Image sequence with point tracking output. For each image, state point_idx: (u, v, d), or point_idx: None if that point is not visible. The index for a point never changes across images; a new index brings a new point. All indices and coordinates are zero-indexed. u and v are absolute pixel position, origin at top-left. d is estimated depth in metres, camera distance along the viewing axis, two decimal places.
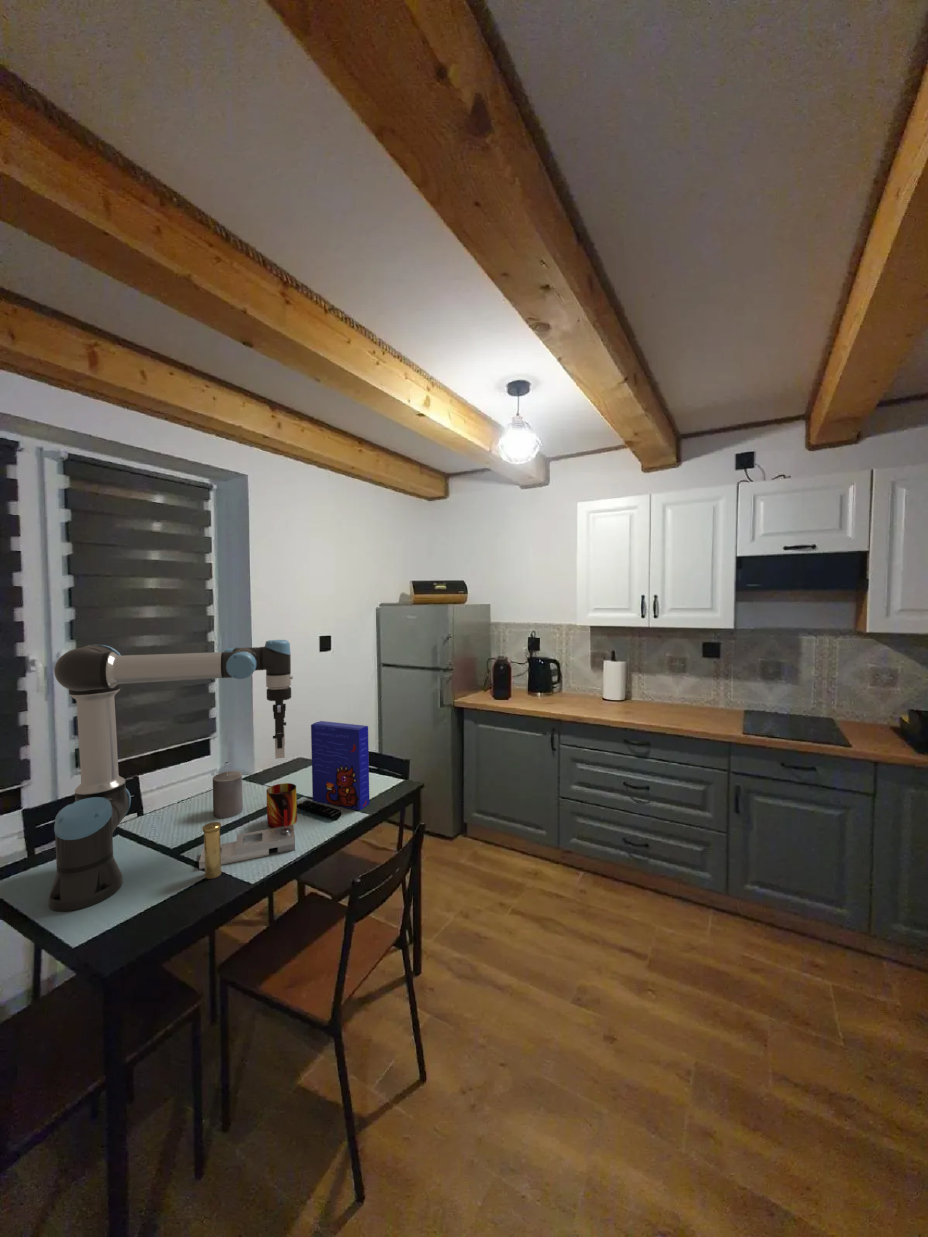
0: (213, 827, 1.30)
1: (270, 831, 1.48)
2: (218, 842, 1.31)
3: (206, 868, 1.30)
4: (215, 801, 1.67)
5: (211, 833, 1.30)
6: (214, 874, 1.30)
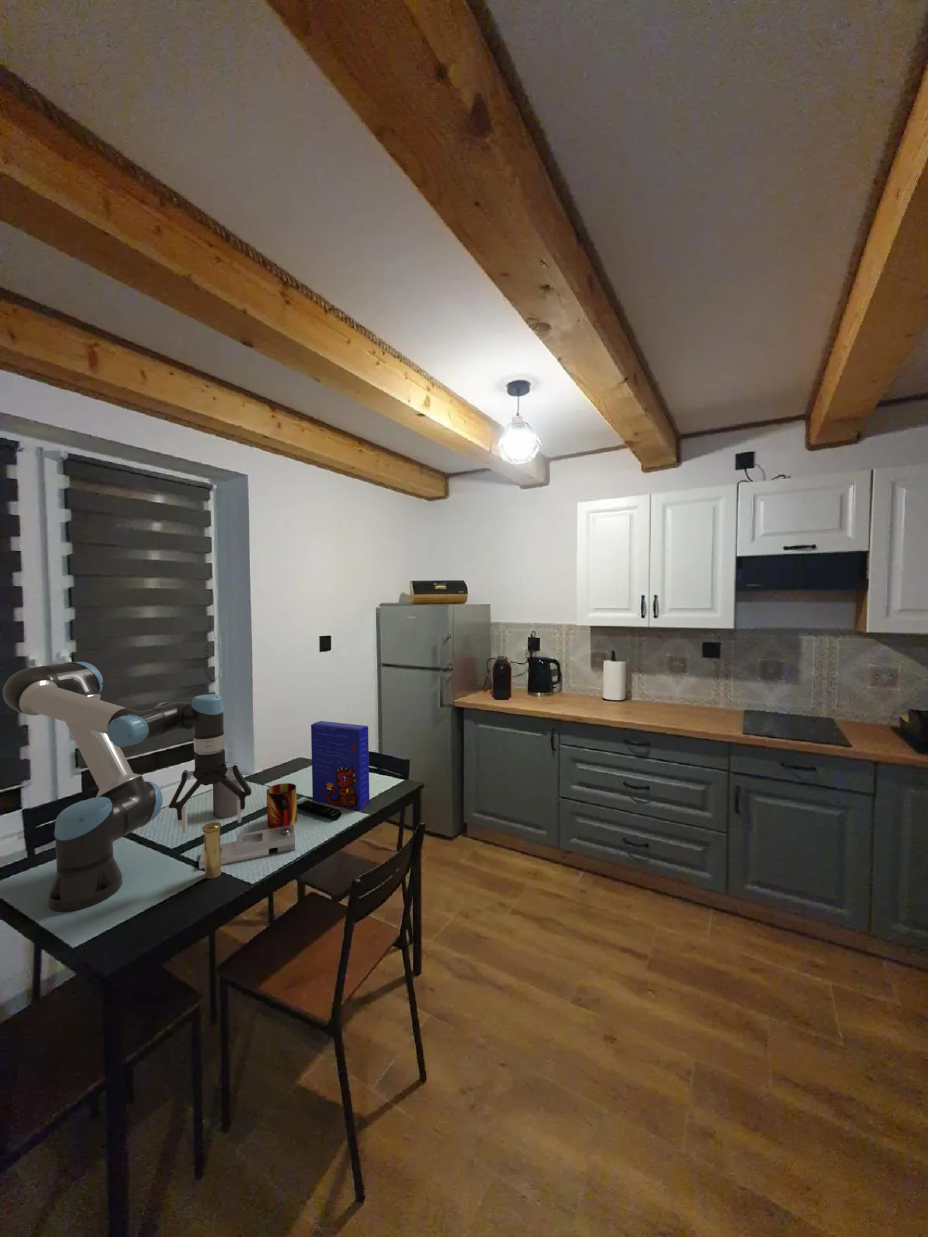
0: (213, 827, 1.30)
1: (270, 831, 1.48)
2: (218, 842, 1.31)
3: (206, 868, 1.30)
4: (215, 801, 1.67)
5: (211, 833, 1.30)
6: (214, 874, 1.30)
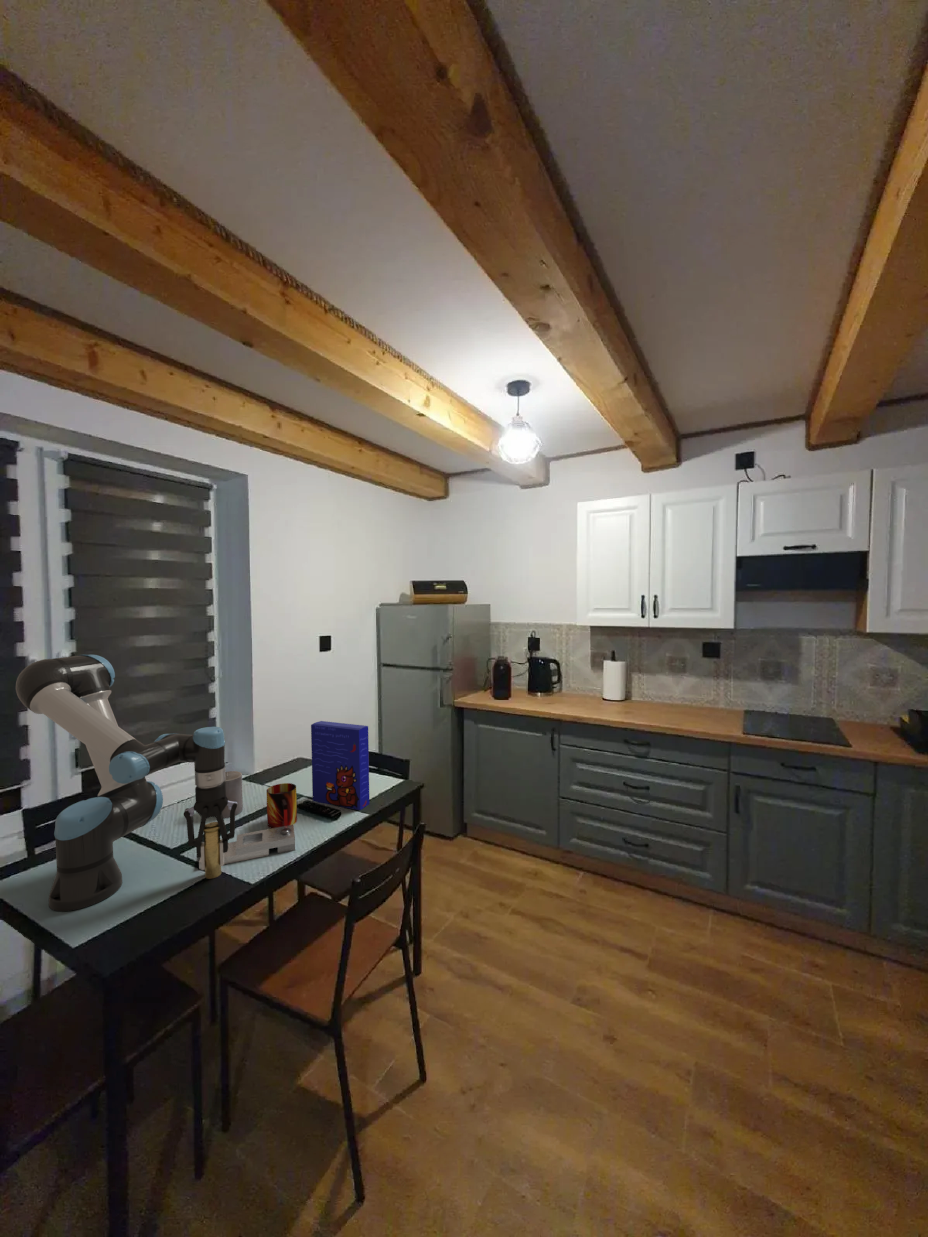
0: (213, 827, 1.30)
1: (270, 831, 1.48)
2: (218, 842, 1.31)
3: (206, 868, 1.30)
4: None
5: (211, 833, 1.30)
6: (214, 874, 1.30)
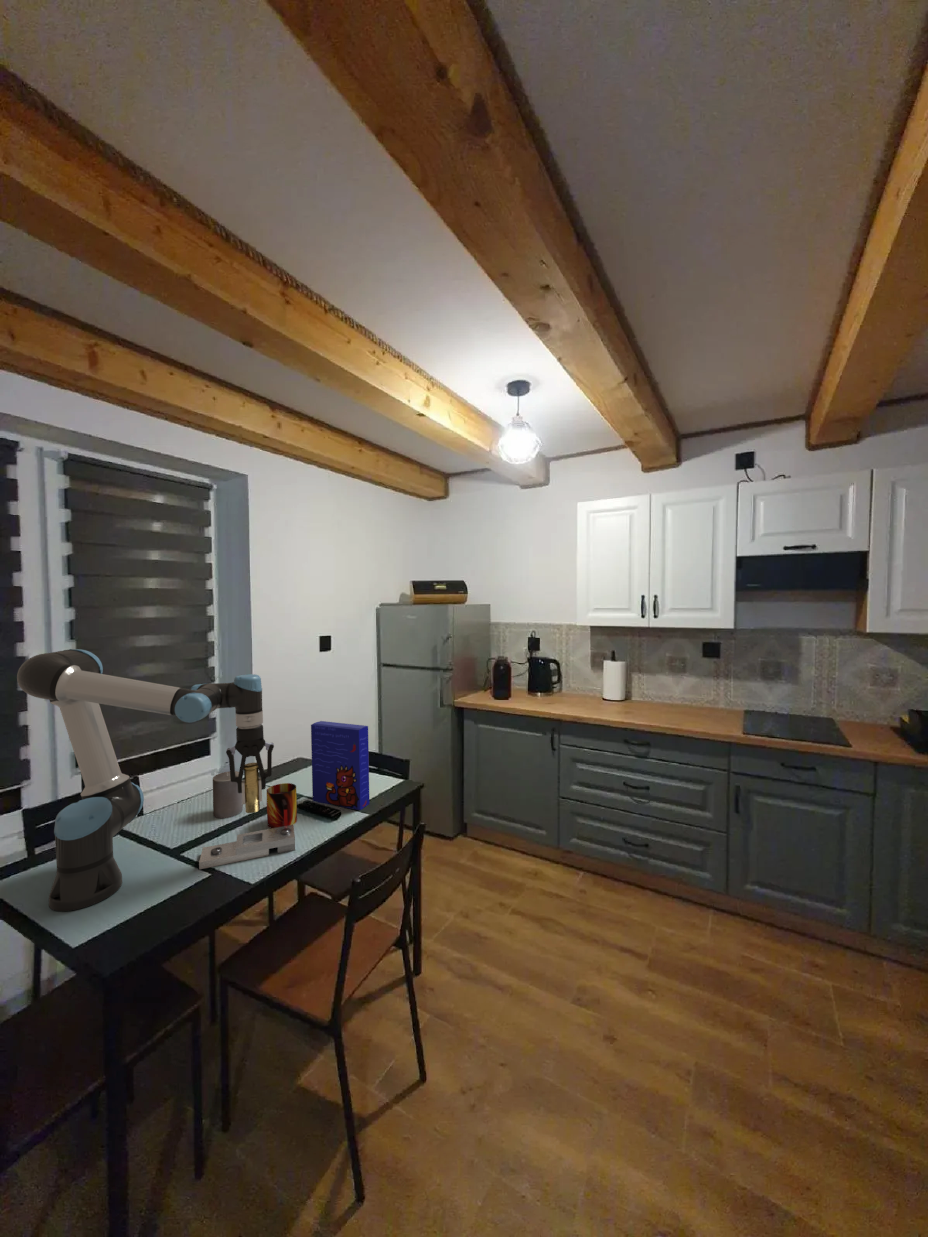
0: (252, 766, 1.42)
1: (270, 831, 1.48)
2: (257, 780, 1.43)
3: (246, 803, 1.42)
4: (215, 801, 1.67)
5: (251, 771, 1.41)
6: (254, 809, 1.42)
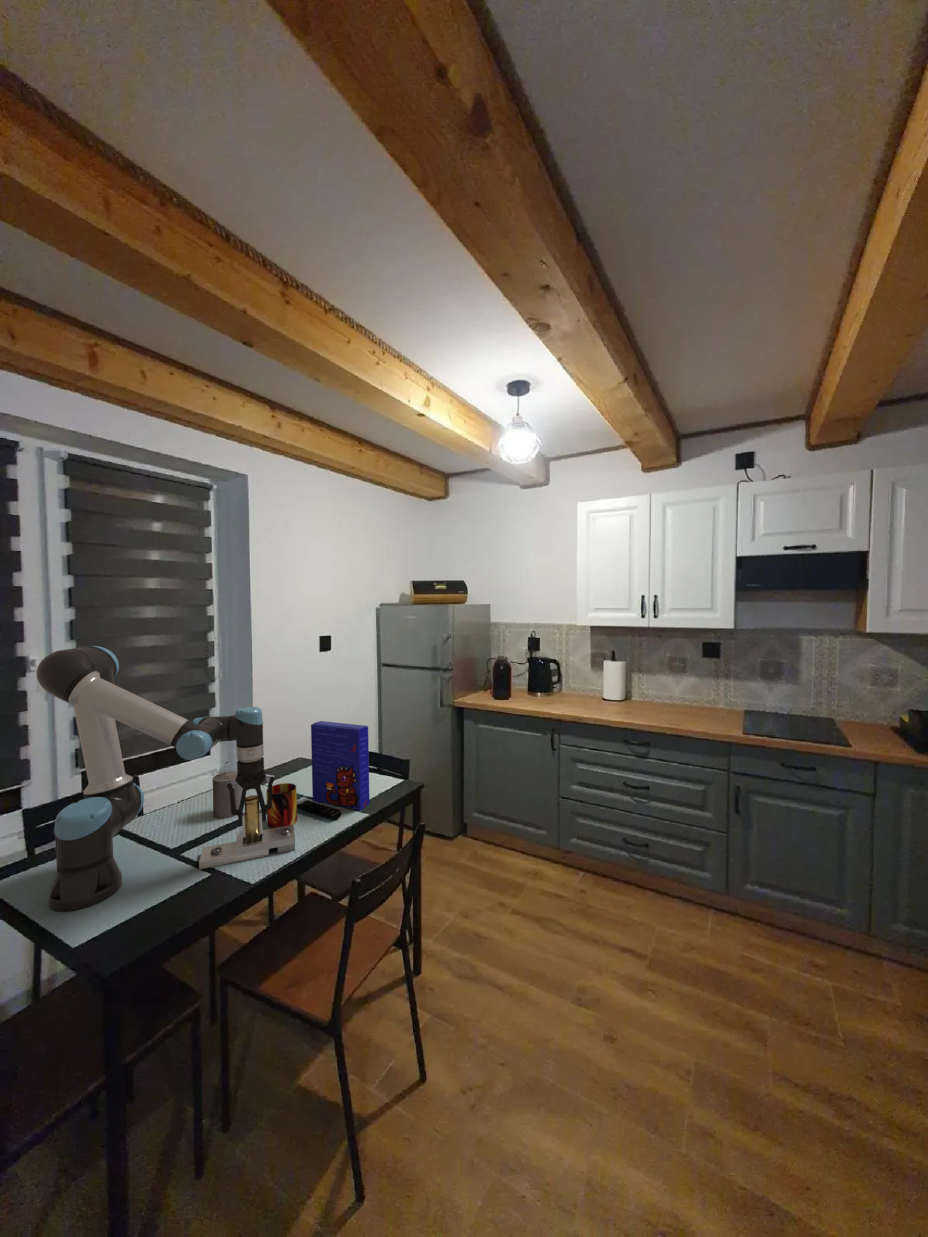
0: (253, 799, 1.42)
1: (270, 831, 1.48)
2: (257, 813, 1.43)
3: (247, 837, 1.42)
4: (215, 801, 1.67)
5: (252, 804, 1.42)
6: None
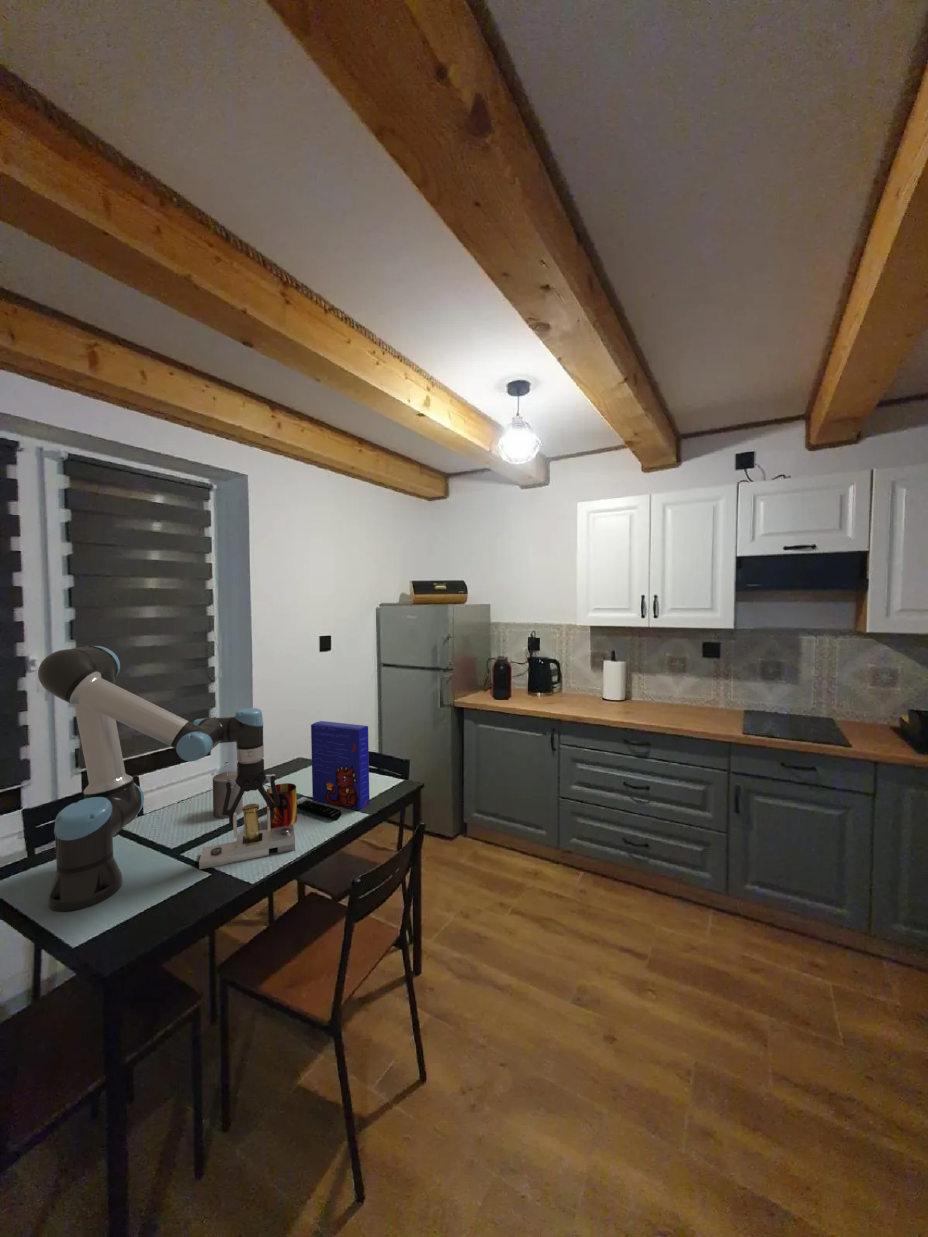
0: (252, 808, 1.42)
1: (270, 831, 1.48)
2: (257, 822, 1.43)
3: None
4: (215, 801, 1.67)
5: (251, 813, 1.42)
6: None
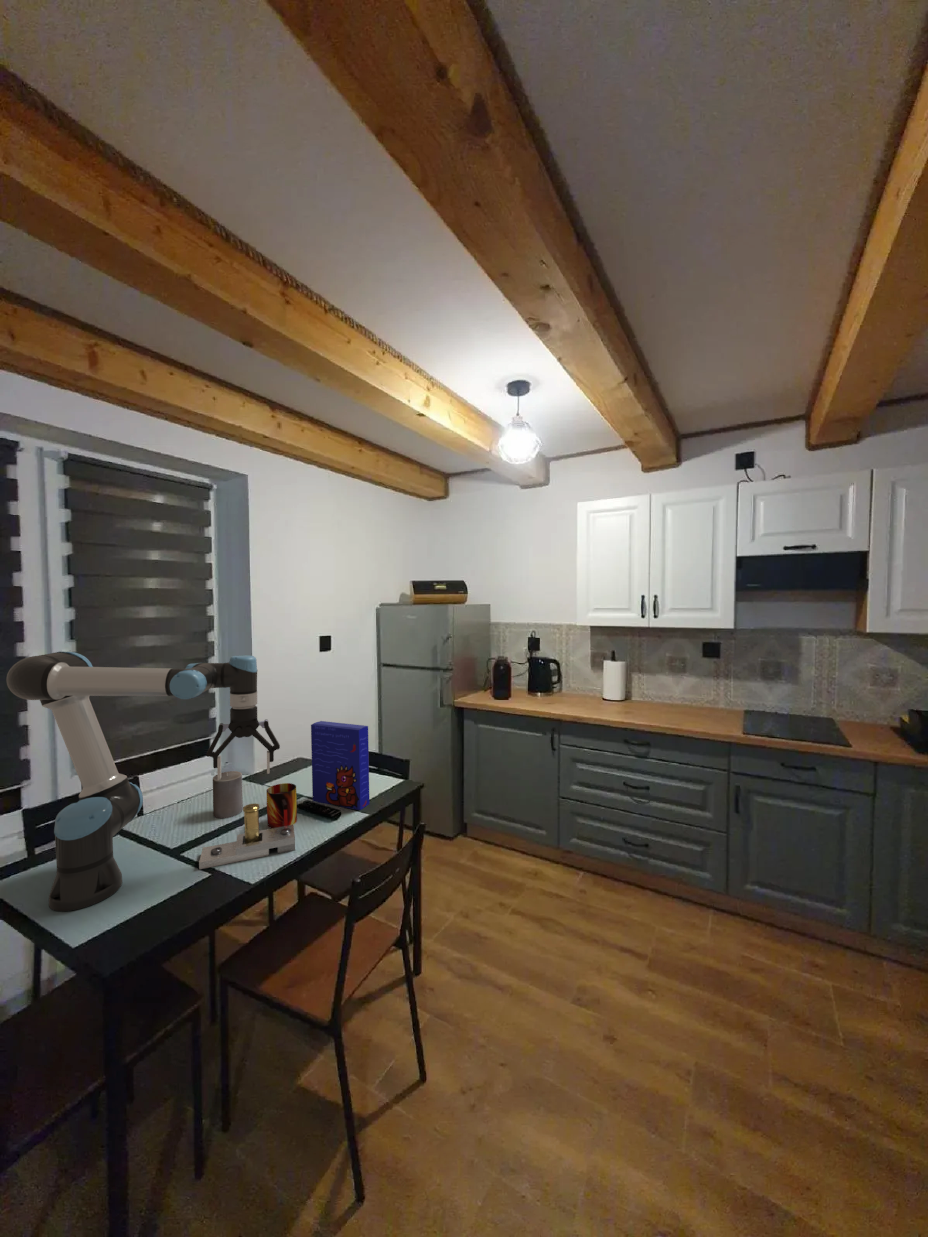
0: (253, 808, 1.42)
1: (270, 831, 1.48)
2: (257, 822, 1.43)
3: None
4: (215, 801, 1.67)
5: (251, 813, 1.42)
6: None
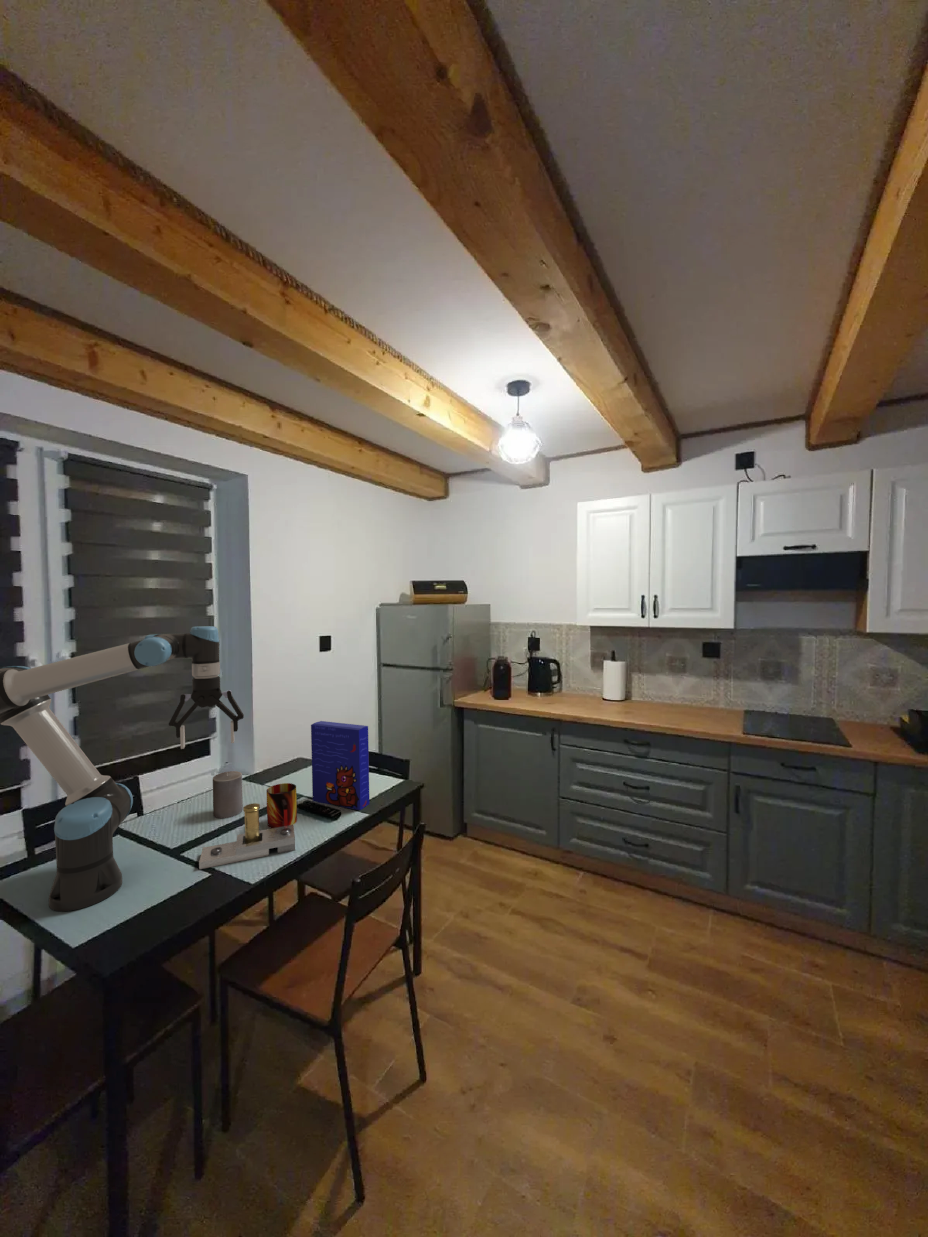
0: (253, 807, 1.43)
1: (270, 831, 1.48)
2: (257, 821, 1.43)
3: None
4: (215, 801, 1.67)
5: (252, 813, 1.42)
6: None
